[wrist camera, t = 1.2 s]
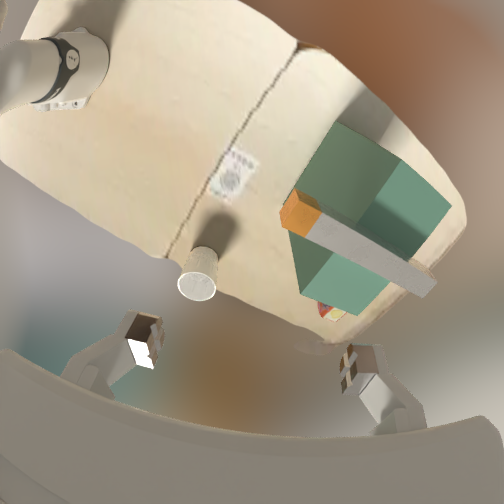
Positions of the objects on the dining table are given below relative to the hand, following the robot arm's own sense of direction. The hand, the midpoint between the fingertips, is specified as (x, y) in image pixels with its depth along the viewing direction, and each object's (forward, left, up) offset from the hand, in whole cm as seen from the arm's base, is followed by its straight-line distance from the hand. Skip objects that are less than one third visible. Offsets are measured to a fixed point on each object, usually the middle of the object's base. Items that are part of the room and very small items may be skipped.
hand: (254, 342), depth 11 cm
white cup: (-11, -28, -44) cm, 53 cm away
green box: (+15, -7, -44) cm, 47 cm away
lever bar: (+13, -6, -18) cm, 23 cm away
